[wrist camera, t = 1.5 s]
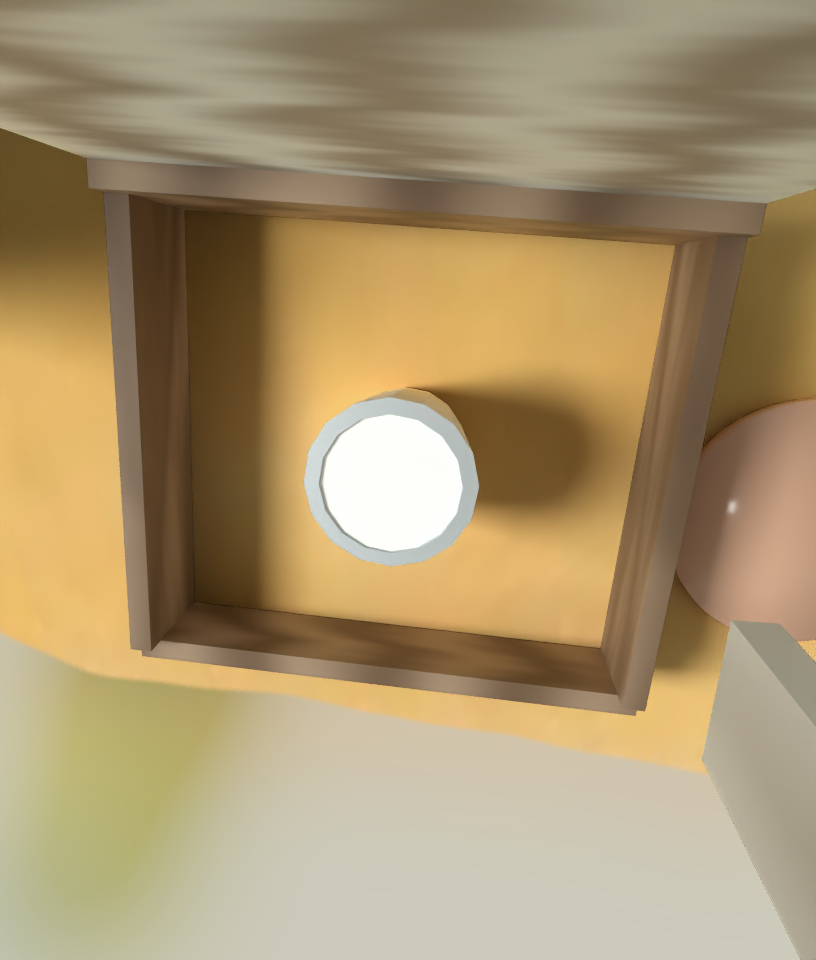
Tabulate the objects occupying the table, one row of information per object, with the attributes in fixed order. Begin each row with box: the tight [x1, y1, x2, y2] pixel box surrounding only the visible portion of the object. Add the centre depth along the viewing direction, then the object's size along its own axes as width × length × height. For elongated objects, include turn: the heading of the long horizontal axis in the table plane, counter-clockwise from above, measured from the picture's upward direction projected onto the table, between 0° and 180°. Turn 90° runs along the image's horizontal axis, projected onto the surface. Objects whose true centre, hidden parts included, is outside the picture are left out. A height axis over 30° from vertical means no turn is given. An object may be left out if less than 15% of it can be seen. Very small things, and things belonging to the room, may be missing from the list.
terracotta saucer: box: [675, 398, 816, 641], centre depth 30 cm, size 12×12×1 cm
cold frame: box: [0, 0, 816, 716], centre depth 20 cm, size 24×23×24 cm
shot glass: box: [304, 387, 479, 566], centre depth 28 cm, size 7×7×7 cm
